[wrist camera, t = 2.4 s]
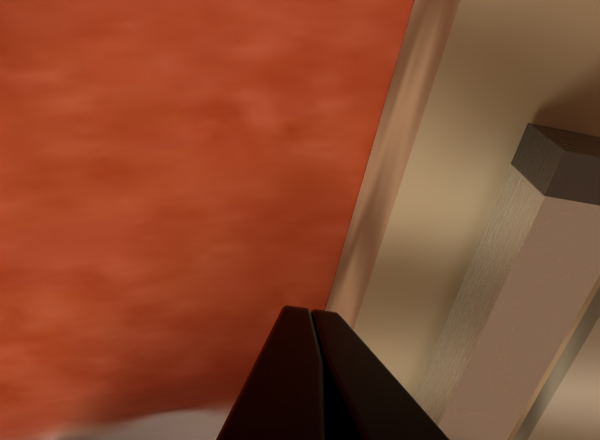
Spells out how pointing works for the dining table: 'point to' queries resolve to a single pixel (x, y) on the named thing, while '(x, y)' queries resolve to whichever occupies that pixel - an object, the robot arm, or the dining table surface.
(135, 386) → the dining table surface
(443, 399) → the latch bar
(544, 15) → the wooden case with bar
